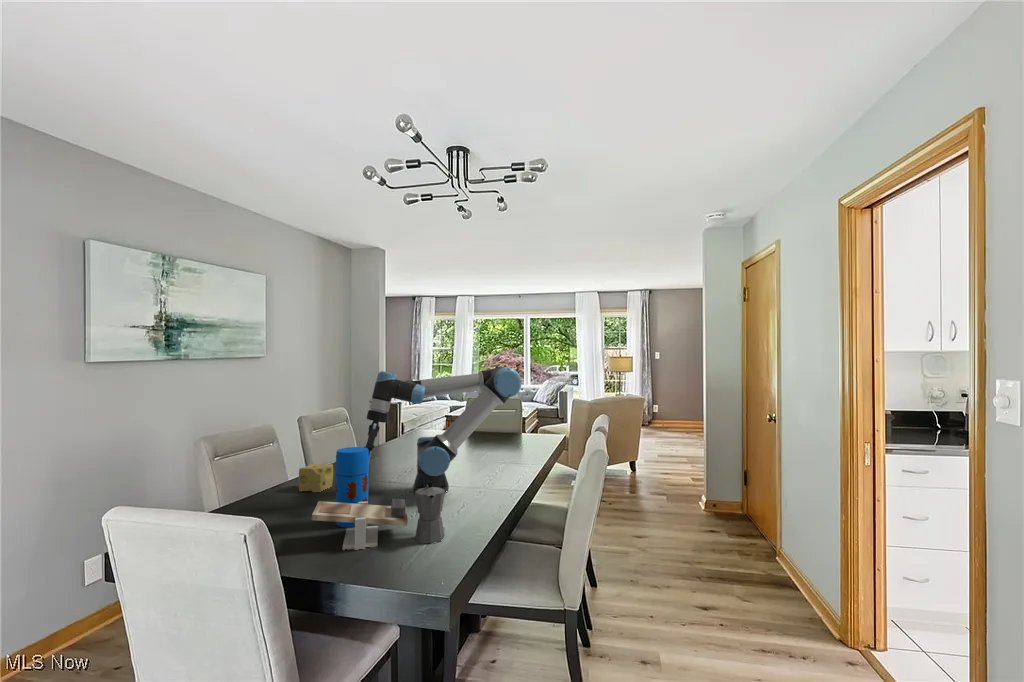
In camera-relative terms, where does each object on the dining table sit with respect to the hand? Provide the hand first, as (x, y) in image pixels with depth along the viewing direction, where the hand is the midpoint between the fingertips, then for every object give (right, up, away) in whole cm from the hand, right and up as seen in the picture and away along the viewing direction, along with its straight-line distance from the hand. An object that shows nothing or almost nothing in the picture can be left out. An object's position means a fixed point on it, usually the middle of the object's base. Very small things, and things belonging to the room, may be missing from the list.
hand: (364, 466), depth 189 cm
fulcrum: (+9, -15, -33) cm, 37 cm away
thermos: (+1, -15, -17) cm, 23 cm away
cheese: (-28, -17, +25) cm, 41 cm away
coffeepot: (+30, -15, -31) cm, 46 cm away
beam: (+9, -7, -33) cm, 34 cm away
